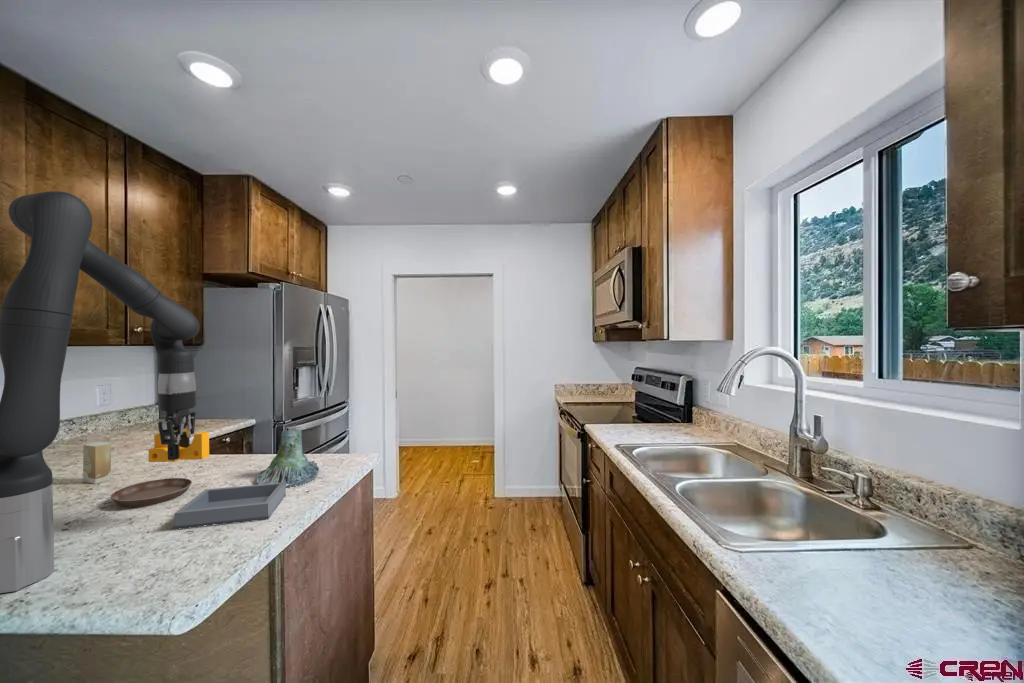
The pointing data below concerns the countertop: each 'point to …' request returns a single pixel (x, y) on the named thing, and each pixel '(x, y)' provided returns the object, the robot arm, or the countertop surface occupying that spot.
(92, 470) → the skincare box
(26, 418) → the robot arm
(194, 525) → the tray
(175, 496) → the plant saucer
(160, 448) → the pipe clamp
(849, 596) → the countertop surface
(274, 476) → the tree stump
